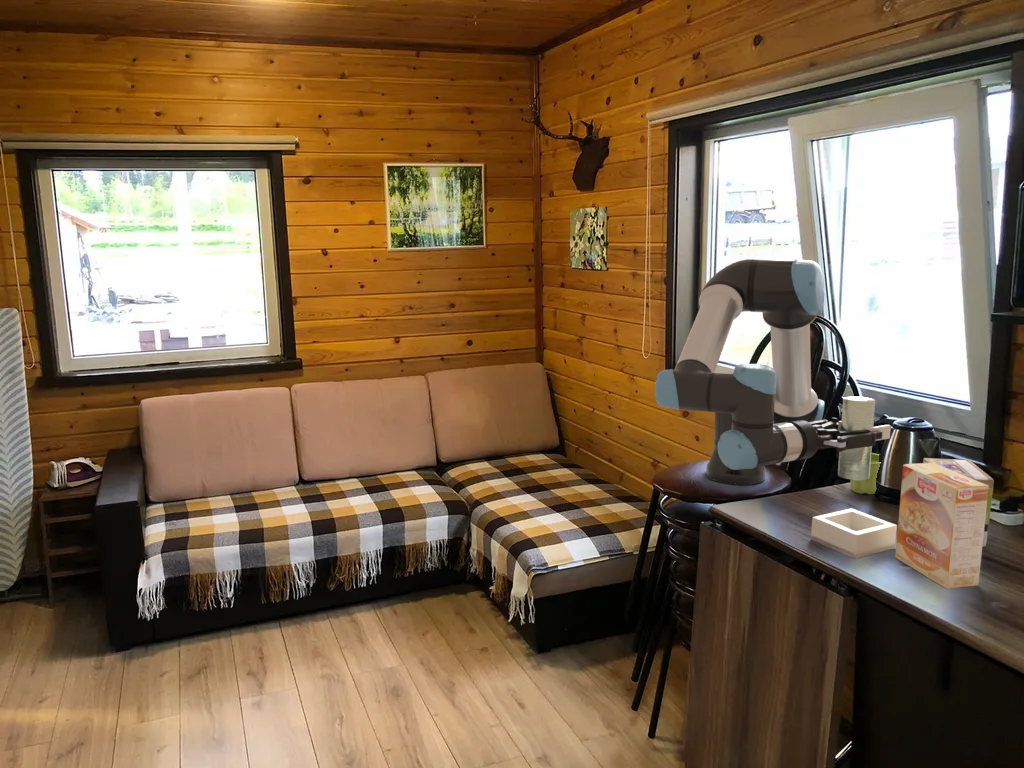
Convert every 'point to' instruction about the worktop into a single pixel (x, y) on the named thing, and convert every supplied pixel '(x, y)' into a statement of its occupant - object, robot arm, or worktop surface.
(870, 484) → the plant pot
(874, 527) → the well
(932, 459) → the tea box
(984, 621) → the worktop surface
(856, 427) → the canister
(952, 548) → the coffeecake box
